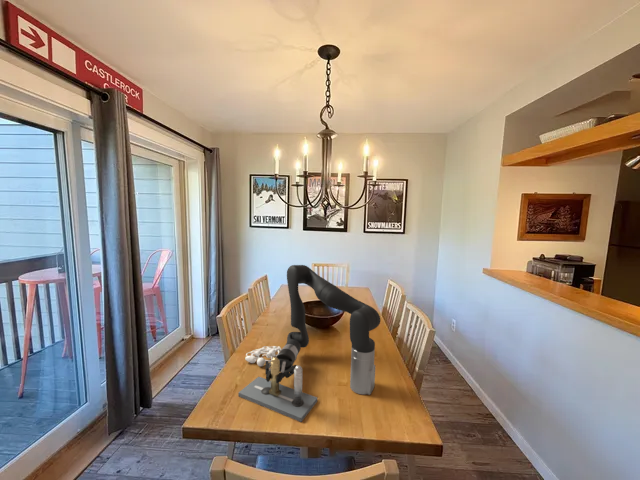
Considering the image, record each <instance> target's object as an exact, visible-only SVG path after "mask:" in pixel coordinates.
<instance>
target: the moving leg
mask: <svg viewBox="0 0 640 480" xmlns="http://www.w3.org/2000/svg"><path fill="white" fill-rule="evenodd" d="M270 360H271V359H270ZM270 363H271V367H270V368H271V379H270V381H271V389H270V390H269V393H270V394H272V395H275V396H277V397H278V396H279V395H280V394H281V390H279V384H280V382H279V383H276V378H277V376H278V374H279V373H280V372H279V364H280V361H279V359H278V358H277V356H274V357H273V359H272V360H271V362H270Z"/></svg>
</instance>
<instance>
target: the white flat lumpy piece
mask: <svg viewBox="0 0 640 480" xmlns="http://www.w3.org/2000/svg"><path fill="white" fill-rule="evenodd" d="M281 349H282V348H281V346H276V345H273V346H272V345H271V346H266V345H265V346H262V347H261V348H257V349H252V351H249V352H246V353H245V358H244V359H245V361H246V362H248V363H250V364H254V363H256V364H257V366H258V367H264V365H265V362H266V361H268V362H269V363H271V360H272V359H273V358H274V357H277V355H278V354H279V352H280V351H281ZM276 353H277V354H276ZM248 354H250V355H248ZM261 354H262V356H261ZM260 356H261V357H260ZM265 356H266V358H267V359H265V358H264V357H265ZM268 359H269V360H268Z"/></svg>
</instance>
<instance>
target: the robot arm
mask: <svg viewBox="0 0 640 480" xmlns="http://www.w3.org/2000/svg"><path fill="white" fill-rule="evenodd" d="M286 280H287V281H286V282H287V289H288V295H289V301H290V326H291V327H293V328H295V329H298V330H299V331H291V332H289V333H288V334H287V337H286V343H285V345H284V346H283V347H282V348H281V349H280V350H281V351H279V354H278V353H277V354H276V355H277V356H276V357H277V358H278V359H279V361H280V364H279V374H278V376H277V378H276V383H279V384H280V383H281V382H282V380H283V379H284V378H286V379H289V378H290V377H292V375H293V376H294V369H295V367H296V366H298V365H297V364H294V363H295V361H296V360H297V357H298V355H299V353H300V351H301V348H306V347H307V346H309V343H310V336H309V334H308V330H307V324H306V309H305V305H304V302H303V300H302V298H301V296H300V293H299V285H300V284H303V285H304V284H305V285H306V286H308V287H310V288H312V289H313V291H314V295H315V297H316V298H317V299H318V300H319V301H320V302H322V303H323V304H324V305H326V306H328V307H329V308H332V309H335V310H337V311H341V312H344V313H348V314H350V317H349V339H350V342H351V351H350V352H351V353H350V357H351V358H350V380H349V382H350V385H349V386H350V390H351V391H353V392H354V393H355V394H358V395H368V396H369V395H370V396H371V394H372V392H373V390H374V388H375V382H376V381H375V379H376V364H375V354H376V353H375V352H376V351H375V349H376V343H375V340H374V339H373V338H371V337H370V332H371V331H373V330H374V329H376V328H378V327H379V326H380V324H381V316H380V313H379V312H378V311H377V310H376V309H375V308H374V307H372V306H371V305H368V304H367V303H365V302H362V301H360V300H359V299H356V298H355V297H353V296H351V295H350V294H349V293H347V292H345V291H343V290H342V289H340V288H339V287H337V286H336V285H335V284H333V283H331V282H330V281H328V280H326V279H325V278H323V277H322V276H320V275H319V274H317V273H316V272H315V271H314V270H312V269H311V268H310V267H309V266H308V265H305V264H293V265H290V266H289V267H288V268H287V270H286ZM264 365H265V373H264V374H265V379H266V380H267V382H269V381H271V362H268V361H266V362H265V364H264Z"/></svg>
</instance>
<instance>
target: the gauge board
mask: <svg viewBox="0 0 640 480" xmlns="http://www.w3.org/2000/svg"><path fill="white" fill-rule="evenodd" d="M270 389H271V380H270V381H269V382H267V380H266V378H263V377H261V376H257V377H256V378H255V379H253V380H252V381H250V382H249V384H247V385H246V386H244V388H242V389H241V390H240V391H238V395H237V396H238V397H239V398H241V399H244V400H246V401H248V402H251V403H254V404H256V405H258V406H261V407H264V408H265V409H269V410H270V411H273V412H276V413H278V414H281V415H283V416H285V417H287V418H290V419H293V420H295V421H297V422H300V423H302V422H303V420H304V419H305V418H306V417H307V415H308V414H309V413H310V412H311V411H312V409H313V407H314V406H315V405H316V404H317V402H318V400H319V399H318V397H317V396H314V395H312V394H308V393H306V392H303V391H302V404H301V405H295V404H294V388H292V387H289V386H287V385H283V384H281V383H279V390H281V394H280V395H279V396H278V397H277V396H275V395H272V394H270V393H269V390H270Z"/></svg>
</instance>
